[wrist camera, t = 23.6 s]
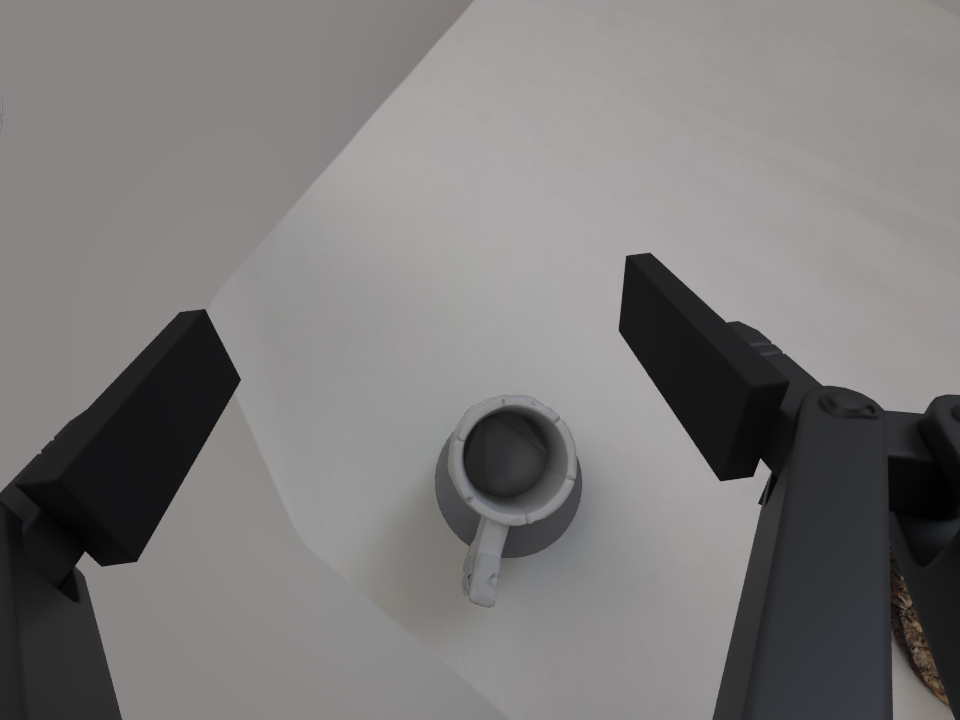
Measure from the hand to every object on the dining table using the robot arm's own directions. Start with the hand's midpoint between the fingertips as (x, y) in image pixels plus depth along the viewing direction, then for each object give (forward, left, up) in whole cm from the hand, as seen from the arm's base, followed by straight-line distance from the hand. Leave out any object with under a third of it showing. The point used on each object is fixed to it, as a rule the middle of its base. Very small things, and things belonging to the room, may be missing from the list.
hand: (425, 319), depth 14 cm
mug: (+7, -2, -19) cm, 20 cm away
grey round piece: (+7, -1, -26) cm, 27 cm away
